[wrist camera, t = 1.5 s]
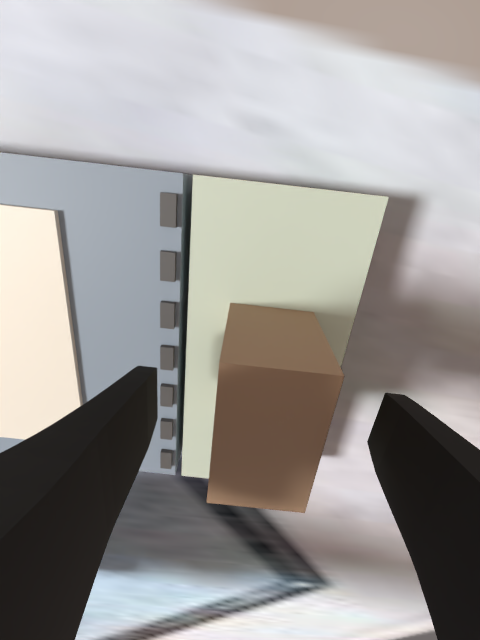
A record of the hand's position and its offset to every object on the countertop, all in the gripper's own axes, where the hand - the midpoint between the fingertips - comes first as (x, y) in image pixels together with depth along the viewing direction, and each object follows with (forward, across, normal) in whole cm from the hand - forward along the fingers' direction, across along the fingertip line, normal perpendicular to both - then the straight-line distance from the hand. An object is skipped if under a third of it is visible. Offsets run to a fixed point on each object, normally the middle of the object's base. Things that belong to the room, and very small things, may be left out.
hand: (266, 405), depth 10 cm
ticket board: (+4, +8, 0) cm, 9 cm away
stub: (+4, 0, 0) cm, 4 cm away
